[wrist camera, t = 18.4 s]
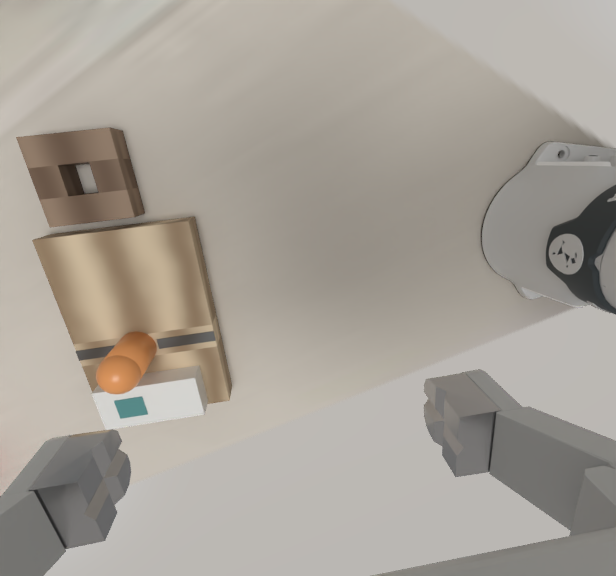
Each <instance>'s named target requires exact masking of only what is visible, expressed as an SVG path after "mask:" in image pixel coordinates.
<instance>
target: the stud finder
mask: <svg viewBox="0 0 616 576" xmlns="http://www.w3.org/2000/svg"><path fill="white" fill-rule="evenodd" d="M92 396H93V399H94V401H95V404H96V406H97V409H98V411H99V414H100V416H101V419H102V421H103V424H104V426H105V429H106V430H111V429H117V428H123V427H130V426H136V425H142V424H148V423H154V422H161V421H167V420H173V419H179V418H186V417H192V416H198V415H204V414H205V411H206V407H207V403H208V398H207V394H206V390H205V386H204V382H203V378H202V374H201V370H200V367H199V365H198V366H191V367H185V368H178V369H172V370H165V371H158V372H152V373H145V374H144V375H143V377H142V378H141V380H140V382H139V383H138V384H137V386H136V387H135V388H133V389H132V390H130V391H129V392H126V393H124V394H110V393H107V392H105V391H104V390H102V389H101V388H100V387H99V385H98V386H97V387H96V388H95V390H94V391H93V392H92Z"/></svg>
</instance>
